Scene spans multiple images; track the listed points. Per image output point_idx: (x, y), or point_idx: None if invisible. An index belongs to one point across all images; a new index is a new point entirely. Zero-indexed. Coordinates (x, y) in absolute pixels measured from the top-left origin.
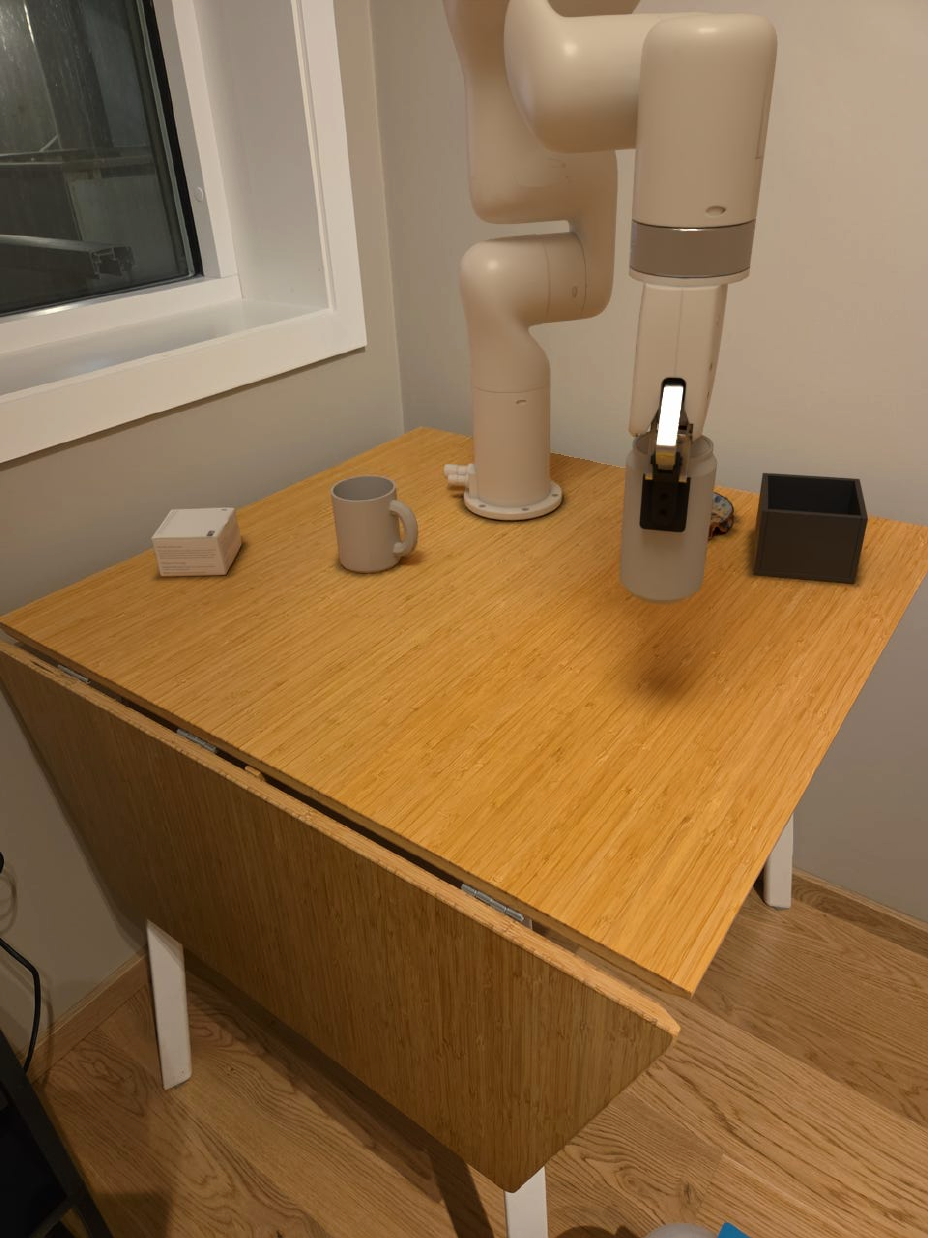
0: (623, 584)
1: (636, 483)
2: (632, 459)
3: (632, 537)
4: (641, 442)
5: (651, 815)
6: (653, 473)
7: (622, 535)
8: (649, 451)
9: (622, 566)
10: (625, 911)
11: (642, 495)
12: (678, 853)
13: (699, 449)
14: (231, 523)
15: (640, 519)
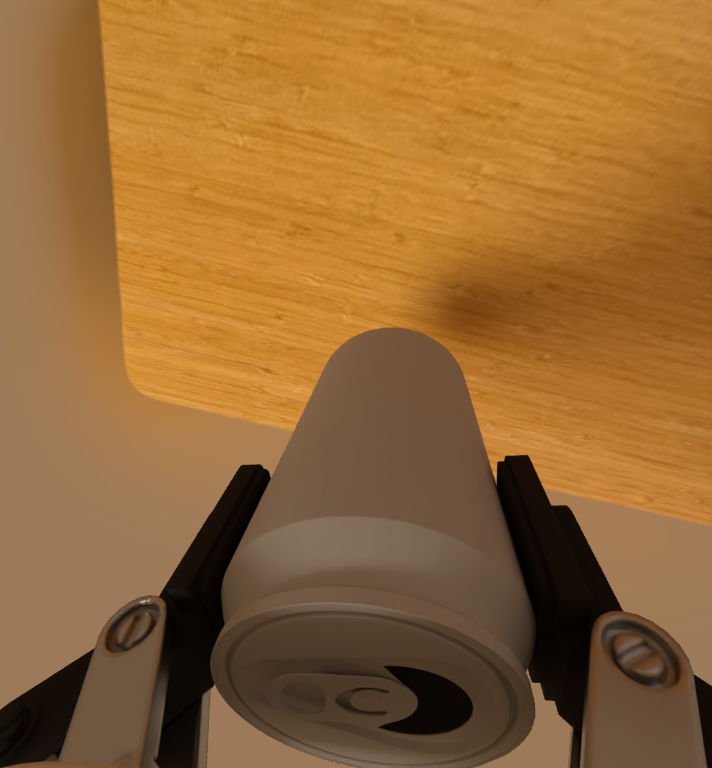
0: (342, 345)
1: (253, 519)
2: (271, 559)
3: (304, 412)
4: (342, 625)
5: (257, 343)
6: (72, 663)
7: (344, 376)
8: (77, 723)
9: (343, 353)
10: (153, 345)
11: (200, 533)
12: (228, 371)
13: (345, 746)
14: None
15: (233, 478)
